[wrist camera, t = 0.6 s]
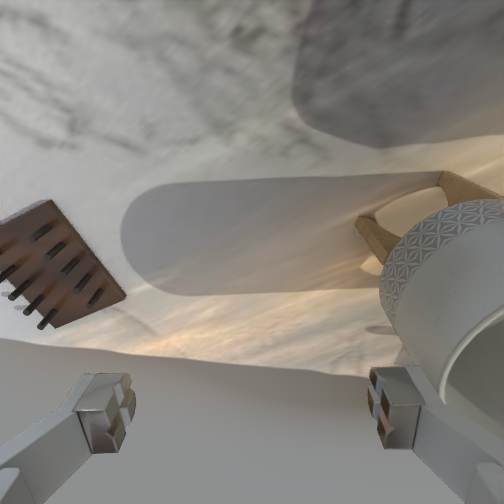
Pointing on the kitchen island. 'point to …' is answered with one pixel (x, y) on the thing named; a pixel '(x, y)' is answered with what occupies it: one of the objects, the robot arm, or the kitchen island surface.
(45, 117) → the kitchen island surface
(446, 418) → the robot arm
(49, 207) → the rack
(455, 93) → the kitchen island surface
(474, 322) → the planter
